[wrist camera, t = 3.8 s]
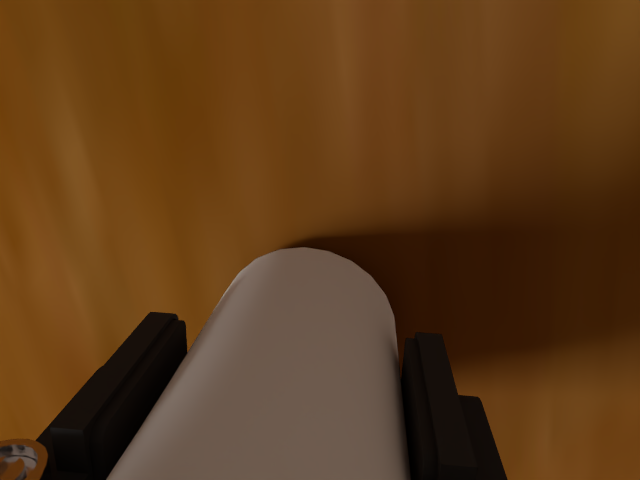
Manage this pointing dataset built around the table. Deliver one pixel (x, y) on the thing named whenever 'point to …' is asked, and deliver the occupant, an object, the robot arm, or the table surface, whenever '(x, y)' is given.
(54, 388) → the table surface
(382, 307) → the beverage can
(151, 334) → the robot arm
